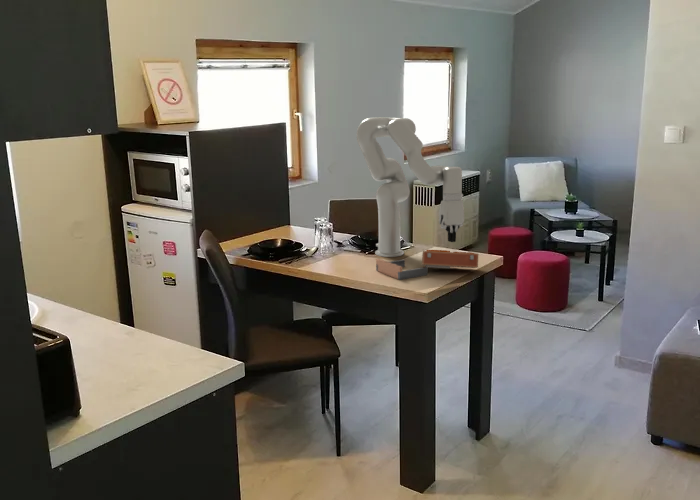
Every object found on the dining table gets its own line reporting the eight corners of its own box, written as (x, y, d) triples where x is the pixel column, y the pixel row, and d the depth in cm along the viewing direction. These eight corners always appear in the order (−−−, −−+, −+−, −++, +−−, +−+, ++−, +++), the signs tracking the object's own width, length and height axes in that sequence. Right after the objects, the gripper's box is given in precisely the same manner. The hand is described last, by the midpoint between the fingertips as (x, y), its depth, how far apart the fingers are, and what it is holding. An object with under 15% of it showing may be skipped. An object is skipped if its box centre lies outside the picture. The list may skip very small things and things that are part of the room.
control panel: (475, 253, 268) (479, 251, 253) (474, 270, 268) (478, 269, 253) (422, 250, 270) (423, 248, 255) (421, 267, 270) (422, 266, 255)
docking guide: (376, 271, 264) (376, 259, 263) (403, 266, 271) (403, 254, 270) (399, 279, 251) (399, 267, 250) (427, 274, 257) (427, 262, 256)
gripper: (460, 194, 274) (460, 238, 278) (431, 197, 267) (431, 242, 271) (472, 196, 267) (471, 240, 271) (443, 199, 260) (442, 245, 264)
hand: (451, 241), depth 271 cm, fingers closed
